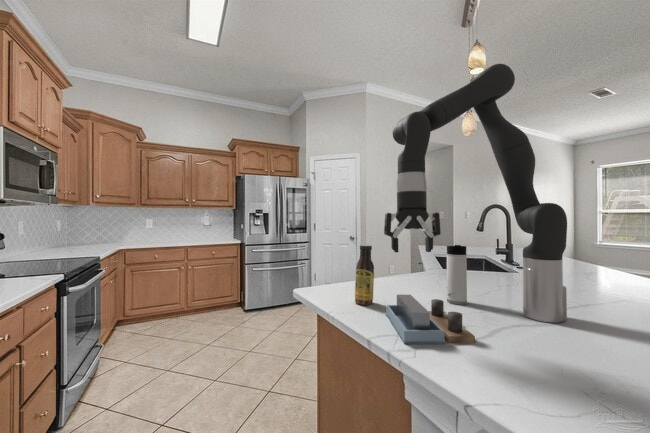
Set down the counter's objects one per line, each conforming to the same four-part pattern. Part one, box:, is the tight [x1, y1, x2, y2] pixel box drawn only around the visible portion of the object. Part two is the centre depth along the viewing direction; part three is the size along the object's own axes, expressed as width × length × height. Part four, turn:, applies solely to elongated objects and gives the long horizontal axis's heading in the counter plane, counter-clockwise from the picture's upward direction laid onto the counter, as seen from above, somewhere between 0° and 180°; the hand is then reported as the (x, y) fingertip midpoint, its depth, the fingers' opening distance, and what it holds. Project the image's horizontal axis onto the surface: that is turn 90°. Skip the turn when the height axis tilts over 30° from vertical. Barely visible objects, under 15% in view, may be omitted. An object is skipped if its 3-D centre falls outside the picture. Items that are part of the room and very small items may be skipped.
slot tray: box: [385, 304, 446, 345], centre depth 74 cm, size 9×20×3 cm, turn 0°
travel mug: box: [446, 244, 468, 306], centre depth 97 cm, size 6×7×20 cm
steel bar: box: [396, 294, 430, 330], centre depth 75 cm, size 4×16×6 cm, turn 179°
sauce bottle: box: [354, 244, 375, 306], centre depth 97 cm, size 6×6×20 cm
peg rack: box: [427, 298, 476, 344], centre depth 74 cm, size 6×18×6 cm, turn 0°
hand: (412, 251), depth 75 cm, fingers open, 8 cm apart
